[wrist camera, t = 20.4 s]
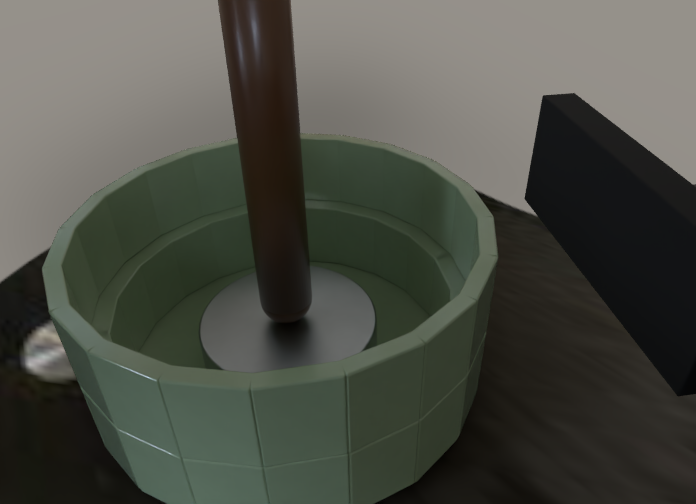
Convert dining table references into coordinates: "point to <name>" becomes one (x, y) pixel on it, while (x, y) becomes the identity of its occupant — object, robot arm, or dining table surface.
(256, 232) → the wooden peg on disc
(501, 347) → the dining table surface
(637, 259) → the robot arm
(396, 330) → the bowl
